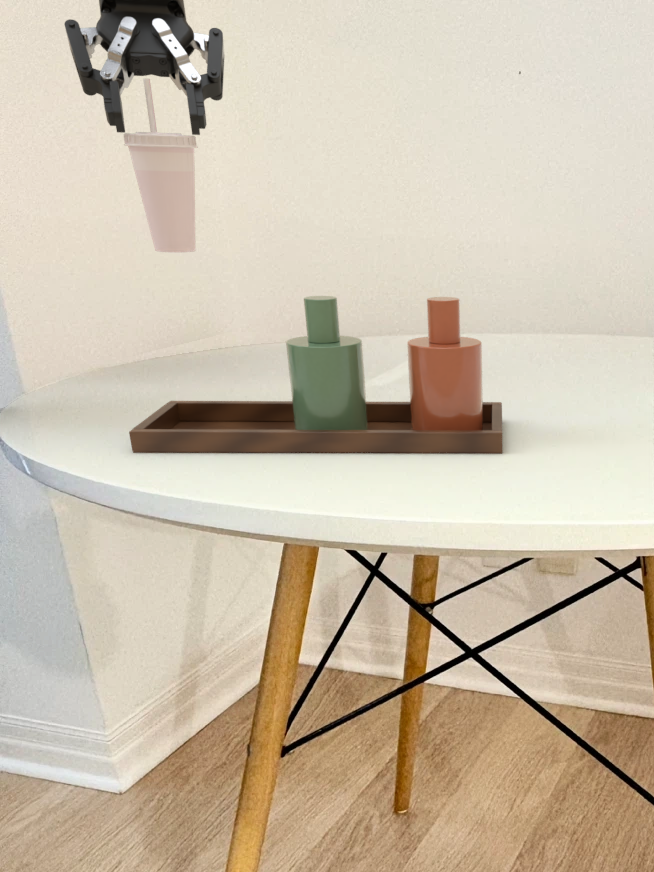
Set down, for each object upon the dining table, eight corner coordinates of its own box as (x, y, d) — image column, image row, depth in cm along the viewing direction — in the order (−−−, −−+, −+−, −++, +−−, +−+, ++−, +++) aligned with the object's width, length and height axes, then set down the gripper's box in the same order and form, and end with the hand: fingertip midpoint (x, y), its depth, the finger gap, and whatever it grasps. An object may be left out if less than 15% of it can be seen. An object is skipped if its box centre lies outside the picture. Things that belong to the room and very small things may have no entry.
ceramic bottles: (289, 444, 76) (274, 302, 71) (302, 426, 81) (288, 292, 76) (482, 444, 76) (480, 303, 72) (483, 427, 81) (481, 294, 76)
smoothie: (162, 246, 100) (138, 80, 93) (222, 249, 99) (202, 82, 92) (126, 251, 94) (99, 75, 87) (189, 254, 93) (166, 76, 86)
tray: (133, 460, 74) (128, 431, 73) (174, 426, 83) (170, 400, 82) (502, 461, 75) (502, 432, 74) (502, 427, 84) (501, 401, 83)
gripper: (46, -66, 89) (62, 86, 85) (215, -53, 92) (238, 93, 88) (65, 14, 96) (80, 158, 92) (221, 23, 99) (242, 161, 95)
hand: (158, 125), depth 90 cm, fingers closed on smoothie, 6 cm apart
